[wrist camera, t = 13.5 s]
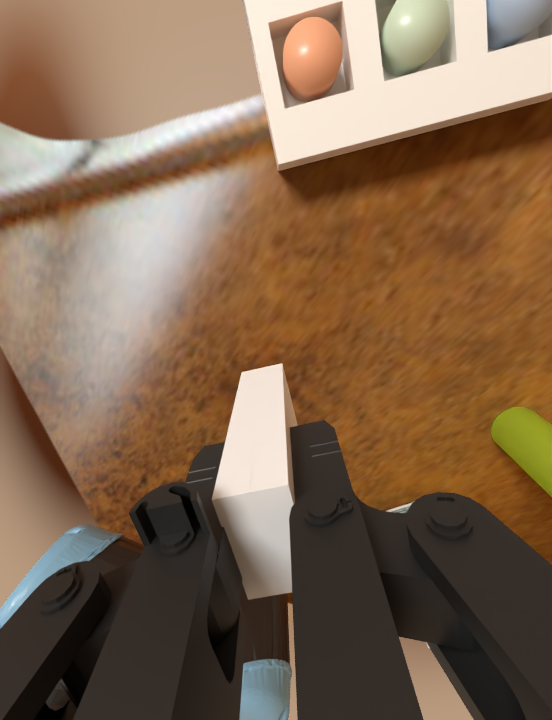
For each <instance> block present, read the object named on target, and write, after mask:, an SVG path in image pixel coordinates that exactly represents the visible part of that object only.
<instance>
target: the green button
mask: <svg viewBox="0 0 552 720" xmlns="http://www.w3.org/2000/svg"><path fill="white" fill-rule="evenodd" d="M449 21H450V14H449V8H448V4H447V2H446V0H397V1H396V2H395V4H394V6H393V8H392V9H391V11H390V13H389V15H388V17H387V19H386V21H385V23H384V25H383V27H382V29H381V31H380V34H379V40H380V49H381V58H382V65H383V67H384V68H385V69H386V70H387V71H388V72H389V73H391V74H393V75H395V76H400V77H401V76H405V75H409V74H412V73H415V72H417V71H418V70H419V69H421V68H422V66H423V65H424V64H425V63H426V62H427V61H428V60H429V59H430V58H431V57H432V55H433V54H434V53H435V52H436V51H437V50H438V49H439V48H440V46H441V45H442V43H443V41H444V40H445V37H446V35H447V32H448V28H449Z"/></svg>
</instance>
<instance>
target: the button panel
mask: <svg viewBox="0 0 552 720" xmlns="http://www.w3.org/2000/svg"><path fill="white" fill-rule="evenodd" d="M242 1H243V6H244V11H245V16H246V20H247V25H248V30H249V35H250V40H251V44H252V49H253V54H254V59H255V64H256V68H257V73H258V78H259V83H260V87H261V92H262V97H263V102H264V106H265V111H266V116H267V121H268V126H269V130H270V135H271V140H272V145H273V149H274V154H275V159H276V164H277V168H278V171H281V170H285V169H289V168H292V167H296V166H300V165H304V164H308V163H311V162H315V161H319V160H323V159H327V158H330V157H334V156H338V155H342V154H346V153H349V152H353V151H357V150H361V149H365V148H368V147H372V146H376V145H380V144H384V143H387V142H391V141H395V140H399V139H403V138H406V137H410V136H414V135H418V134H421V133H425V132H429V131H433V130H437V129H440V128H444V127H448V126H452V125H456V124H459V123H463V122H467V121H471V120H475V119H478V118H482V117H486V116H490V115H494V114H497V113H501V112H505V111H509V110H513V109H516V108H520V107H524V106H528V105H532V104H535V103H539V102H543V101H547V100H549V99H551V98H552V13H551V15H550V16H549V17H548V18H547V19H546V20H545V21H544V22H543V23H542V24H541V25H539V26H538V27H537V28H535V29H534V30H533V31H532V32H530V33H529V34H528V35H526V36H525V37H524V38H523V39H521V40H520V41H519V42H517V43H516V44H515V45H513V46H510V47H506V48H502V49H499V50H496V49H492V48H490V47H488V42H487V9H486V0H446V2H447V4H448V8H449V14H450V21H449V28H448V32H447V35H446V37H445V40H444V41H443V43H442V45H441V46H440V48H439V49H438V50H437V51H436V52H435V53H434V54H433V55H432V57H431V58H430V59H429V60H428V61H427V62H426V63H425V64H424V65H423V66H422V68H421V69H419V70H418V71H417V72H415V73H412V74H409V75H405V76H401V77H400V76H395V75H393V74H391V73H389V72H388V71H387V70H386V69H385V68H384V67H383V65H382V58H381V49H380V40H379V34H380V31H381V29H382V27H383V25H384V23H385V21H386V19H387V17H388V15H389V13H390V11H391V9H392V8H393V6H394V4H395V2H396V1H397V0H242ZM308 17H320V18H323V19H325V20H327V21H329V22H330V23H331V24H332V25H333V26H334V27H335V28H336V30H337V31H338V33H339V36H340V38H341V41H342V47H343V57H342V62H341V66H340V69H339V71H338V74H337V76H336V79H335V81H334V84H333V86H332V88H331V89H330V91H329V92H328V93H327V94H326V95H325V96H324V97H323V98H322V99H318V100H315V101H311V102H303V101H300V100H298V99H296V98H295V97H293V96H292V95H291V94H290V92H289V91H288V89H287V88H286V85H285V83H284V79H283V50H284V44H285V41H286V38H287V36H288V34H289V32H290V30H291V29H292V28H293V27H294V25H295V24H297V23H298V22H299V21H301V20H303V19H305V18H308Z"/></svg>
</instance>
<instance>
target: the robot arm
mask: <svg viewBox="0 0 552 720" xmlns="http://www.w3.org/2000/svg"><path fill="white" fill-rule="evenodd" d="M129 515H130V517H131V519H132V521H133V523H134V525H135V527H136V529H137V532H138V534H139V536H140V538H141V540H142V542H143V544H144V545H142V544H139V543H137V542H135V541H132V540H130V539H128V538H125V537H124V535H123V534H121V533H118V534H115V533H113V532H110V531H107V530H104V529H101V528H98V527H95V526H92V525H79V526H76V527H74V528H72V529H71V530H69V531H67V532H66V533H65V534H63V535H62V536H61V537H60V538H59V539H58V540H57V541H56V542H55V543H54V544H53V545H52V546H51V547H50V548H49V549H48V550H47V551H46V553H45V554H44V555H43V556H42V557H41V558H40V559H39V561H38V562H37V563H36V564H35V565H34V567H33V568H32V569H31V570H30V571H29V572H28V574H27V575H26V576H25V577H24V579H23V580H22V581H21V582H20V584H19V585H18V586H17V587H16V588H15V590H14V591H13V592H12V594H11V595H10V596H9V598H8V599H7V600H6V602H5V603H4V604H3V606H2V607H1V609H0V720H288V717H289V706H290V705H289V704H290V680H291V675H292V670H291V667H290V655H289V630H288V606H287V605H288V603H287V593H290V592H292V599H293V622H294V645H295V667H296V690H297V691H296V692H297V711H298V712H297V714H298V720H423V717H422V713H421V710H420V707H419V703H418V700H417V697H416V694H415V690H414V687H413V683H412V680H411V677H410V673H409V670H408V667H407V663H406V660H405V657H404V654H403V650H402V647H401V643H400V640H399V637H404V638H409V639H414V640H419V641H424V642H427V644H428V646H429V647H430V649H431V650H432V652H433V654H434V655H435V657H436V659H437V660H438V662H439V664H440V665H441V667H442V668H443V670H444V672H445V673H446V675H447V677H448V678H449V680H450V682H451V683H452V685H453V686H454V688H455V690H456V691H457V693H458V694H459V696H460V698H461V699H462V701H463V703H464V704H465V706H466V708H467V709H468V711H469V712H470V714H471V716H472V717H473V719H474V720H552V565H551V564H550V563H549V562H548V561H546V560H545V559H544V558H543V557H542V556H541V555H539V554H538V553H537V552H536V551H535V550H534V549H532V548H531V547H530V546H529V545H528V544H527V543H525V542H524V541H523V540H522V539H521V538H520V537H518V536H517V535H516V534H515V533H514V532H513V531H511V530H510V529H509V528H508V527H507V526H506V525H504V524H503V523H502V522H501V521H500V520H499V519H497V518H496V517H495V516H494V515H493V514H492V513H490V512H489V511H488V510H487V509H486V508H485V507H483V506H482V505H480V504H479V503H477V502H475V501H474V500H472V499H471V498H468V497H465V496H462V495H458V494H455V493H441V492H437V493H433V494H428V495H424V496H422V497H421V498H419V499H417V500H416V501H414V502H413V503H412V504H411V506H410V507H409V509H408V511H407V513H397V512H387V511H381V510H377V509H375V508H372V507H369V506H367V505H366V504H364V503H363V502H361V501H360V500H359V499H358V498H357V497H356V496H355V494H354V492H353V490H352V487H351V483H350V480H349V476H348V473H347V470H346V466H345V463H344V459H343V456H342V453H341V449H340V446H339V443H338V439H337V436H336V432H335V429H334V428H333V427H332V426H331V425H330V424H328V423H327V422H326V421H325V420H323V421H318V422H313V423H308V424H304V425H299V426H298V425H297V421H296V417H295V413H294V409H293V405H292V401H291V397H290V393H289V389H288V385H287V381H286V377H285V373H284V368H283V364H282V363H281V364H277V365H272V366H268V367H264V368H259V369H255V370H250V371H246V372H242V374H241V378H240V382H239V386H238V390H237V395H236V399H235V403H234V407H233V412H232V416H231V420H230V424H229V429H228V433H227V437H226V441H225V442H223V443H219V444H214V445H209V446H204V447H203V448H202V450H201V451H200V452H199V453H198V454H197V455H196V456H195V457H194V459H193V461H192V464H191V467H190V470H189V474H188V475H187V478H186V481H185V482H175V483H170V484H167V485H164V486H160V487H158V488H156V489H155V490H153V491H151V492H149V493H147V494H146V495H145V496H144V497H143V498H141V499H140V500H139V501H138V502H137V503H136V504H135V505H134V507H133V508H132V509H131V511H130V512H129ZM398 636H399V637H398Z"/></svg>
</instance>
